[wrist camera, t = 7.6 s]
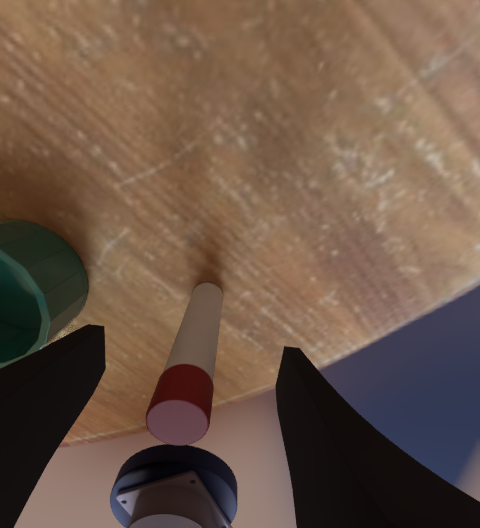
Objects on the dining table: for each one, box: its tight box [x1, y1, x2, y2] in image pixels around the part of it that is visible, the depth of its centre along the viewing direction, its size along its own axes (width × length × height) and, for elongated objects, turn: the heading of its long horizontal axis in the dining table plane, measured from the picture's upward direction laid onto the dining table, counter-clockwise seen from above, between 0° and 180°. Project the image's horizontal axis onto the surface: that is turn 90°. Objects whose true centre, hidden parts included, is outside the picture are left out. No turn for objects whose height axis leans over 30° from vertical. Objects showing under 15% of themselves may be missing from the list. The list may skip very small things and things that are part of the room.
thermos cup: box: [0, 219, 88, 368], centre depth 14 cm, size 7×7×4 cm
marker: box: [146, 283, 223, 445], centre depth 12 cm, size 2×2×8 cm
